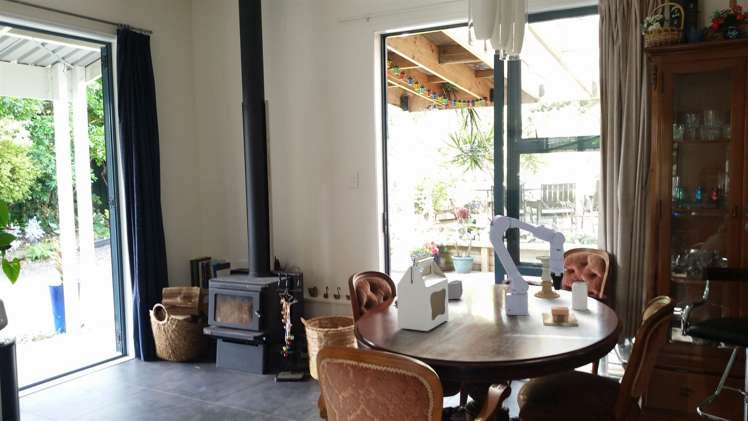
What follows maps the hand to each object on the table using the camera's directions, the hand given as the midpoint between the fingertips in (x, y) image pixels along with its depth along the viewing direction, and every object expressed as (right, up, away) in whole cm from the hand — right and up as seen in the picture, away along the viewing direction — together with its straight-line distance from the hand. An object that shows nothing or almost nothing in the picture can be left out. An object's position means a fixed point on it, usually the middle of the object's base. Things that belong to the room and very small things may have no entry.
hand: (557, 289), depth 244 cm
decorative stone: (-39, -10, +34) cm, 53 cm away
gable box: (-59, -12, -14) cm, 62 cm away
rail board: (-4, -11, -14) cm, 18 cm away
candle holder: (+6, -9, +34) cm, 36 cm away
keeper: (-5, -9, -19) cm, 21 cm away
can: (+12, -10, +6) cm, 16 cm away
